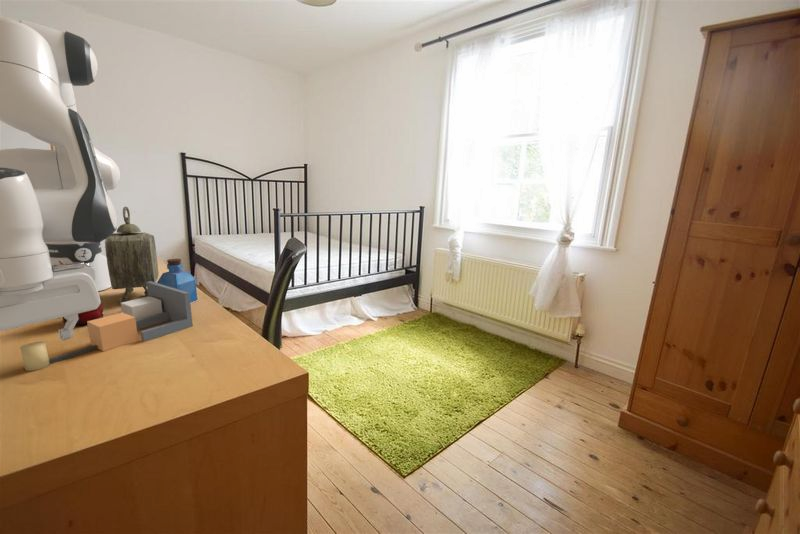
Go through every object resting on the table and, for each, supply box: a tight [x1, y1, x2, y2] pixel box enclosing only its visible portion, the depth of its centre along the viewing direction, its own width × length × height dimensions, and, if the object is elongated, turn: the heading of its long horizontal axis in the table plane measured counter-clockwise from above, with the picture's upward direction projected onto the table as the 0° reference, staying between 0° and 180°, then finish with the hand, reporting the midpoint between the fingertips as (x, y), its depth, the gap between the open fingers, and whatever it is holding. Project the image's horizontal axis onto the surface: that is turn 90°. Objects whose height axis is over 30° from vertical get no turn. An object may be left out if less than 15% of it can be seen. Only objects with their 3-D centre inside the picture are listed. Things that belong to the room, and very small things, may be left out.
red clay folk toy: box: [59, 261, 104, 326], centre depth 79 cm, size 8×7×15 cm
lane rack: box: [105, 281, 194, 342], centre depth 79 cm, size 16×10×8 cm, turn 61°
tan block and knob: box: [20, 312, 139, 372], centre depth 66 cm, size 5×16×5 cm, turn 151°
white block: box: [120, 296, 163, 320], centre depth 81 cm, size 5×6×5 cm
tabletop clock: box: [104, 206, 159, 304], centre depth 96 cm, size 14×9×25 cm, turn 29°
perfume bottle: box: [156, 258, 198, 304], centre depth 93 cm, size 6×6×12 cm
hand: (31, 348), depth 60 cm, fingers open, 8 cm apart
